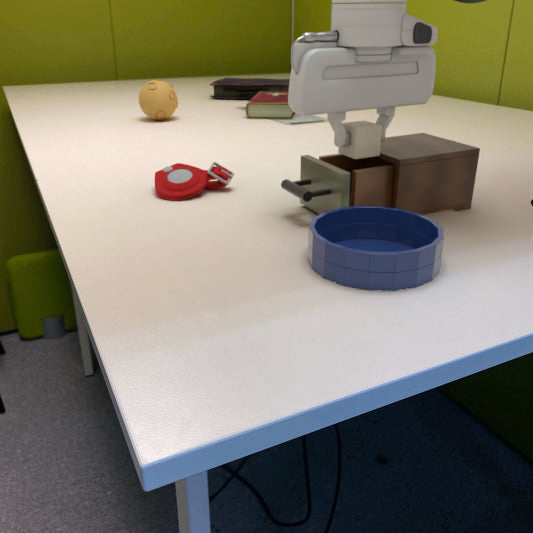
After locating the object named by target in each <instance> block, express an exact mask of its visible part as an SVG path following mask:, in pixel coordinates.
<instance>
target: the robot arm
mask: <svg viewBox="0 0 533 533" xmlns="http://www.w3.org/2000/svg"><path fill="white" fill-rule="evenodd" d="M453 1H454V2H456V3H462V4H478V3H483V2H486V1H487V0H453ZM407 3H408V0H331V12H330V31H329V30H328V31H319V32H314V31H307V32H303V33H302V34H301V36H299V37H297V38H296V39H295V40H294V42H293V43H292V45H291V47H290V66H291V70H290V74H289V75H290V76H289V79H290V82H289V92H288V104H289V106H290V108H291V109H292V111H293V112H295V114H298V115H301V116H317V115H326V114H327V116H326V118H327V119H326V120H327V121H328V123H329V126H330V127H331V129H332V131H333V133H334V138H333V139H334V140H333V143H334V146H335V147H337V148H339V147H347V146H350V145H351V141H350V140H351V133H349V132H346V131H345V129H344V126H343V124H342V123H343V122H344V121H346V118H347V112H356V111H367V110H376V114H378V117H377V119H376V121H375V122H374V123H375V124H379V125H382V136H381V142H384V141H385V138H386V133H387V131H386V130H388V127H389V126H390V124H391V123H392V121H393V119H394V117H395V115H396V114H395V113H396V108H397V107H407V106H417V105H425V104H427V103H428V102H429V100H430V99H431V98H432V96H433V92H434V88H435V82H436V80H435V79H436V71H437V70H436V68H437V56H436V51H435V50H434V48H433V47H432V46H433V45H436V43H437V40H438V37H439V36H438V35H439V31H438V30H439V28H438V27H437V26H436V25H433V24H431V23H429V22H427V21H425V20H422V19H420V18H418V17H415V16H414V15H412V14H409V13H407ZM301 41H302V42H301ZM342 121H343V122H342Z"/></svg>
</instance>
